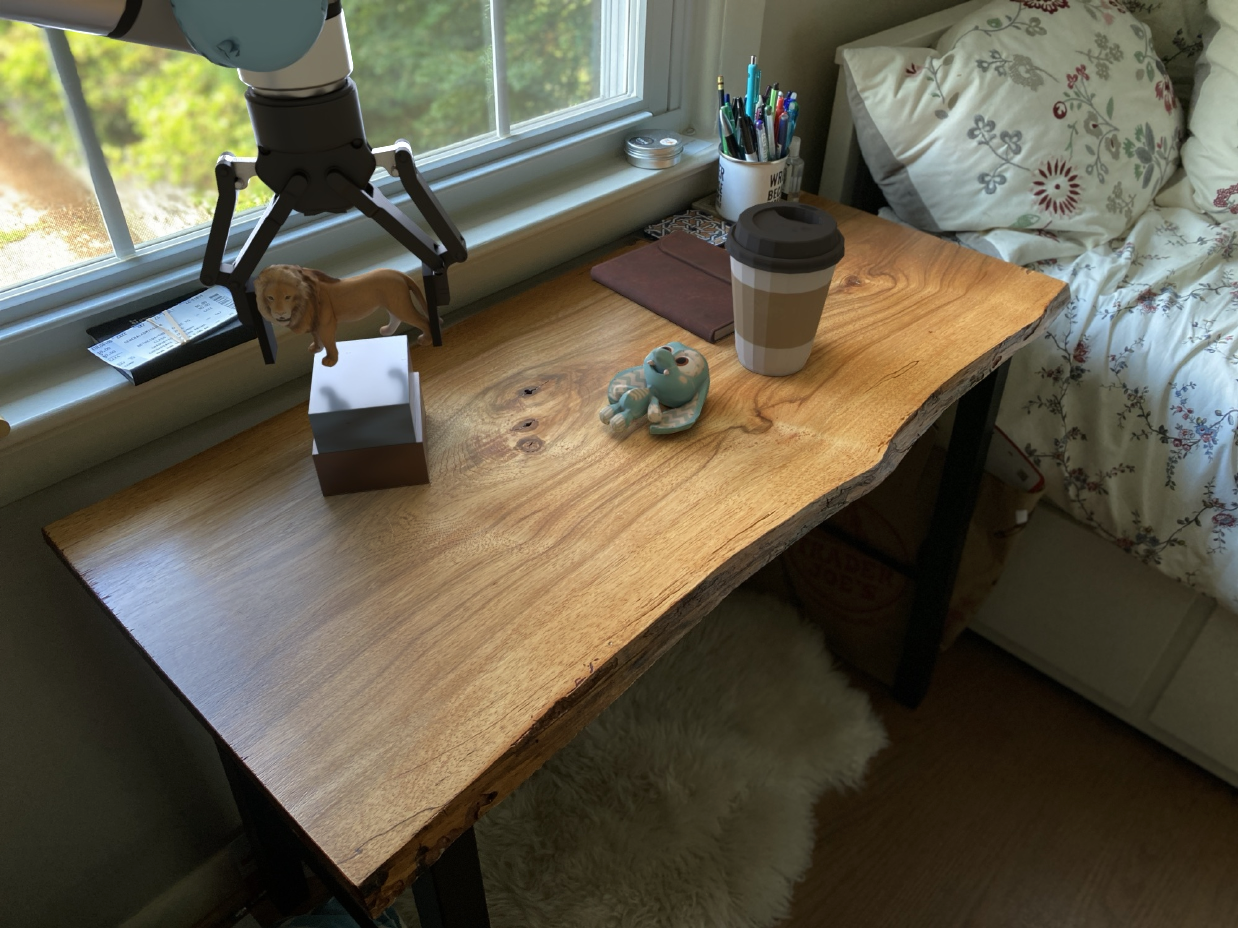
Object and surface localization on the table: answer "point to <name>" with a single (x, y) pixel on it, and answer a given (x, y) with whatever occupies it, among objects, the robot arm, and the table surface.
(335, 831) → the table surface
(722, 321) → the notebook
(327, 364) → the lion figurine
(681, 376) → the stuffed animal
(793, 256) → the coffee cup
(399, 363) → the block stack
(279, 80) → the robot arm
